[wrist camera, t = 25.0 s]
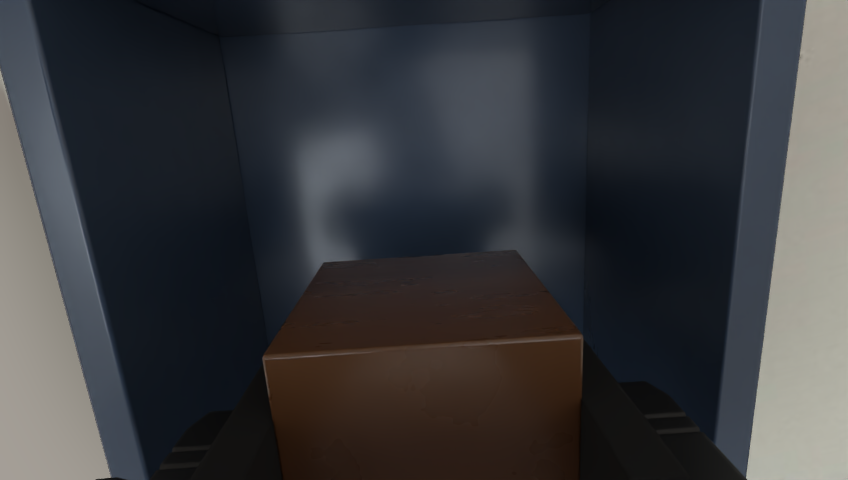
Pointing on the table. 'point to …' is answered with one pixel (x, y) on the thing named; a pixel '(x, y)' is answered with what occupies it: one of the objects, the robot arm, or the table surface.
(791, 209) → the table surface
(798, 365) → the table surface
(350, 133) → the blue box
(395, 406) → the block
